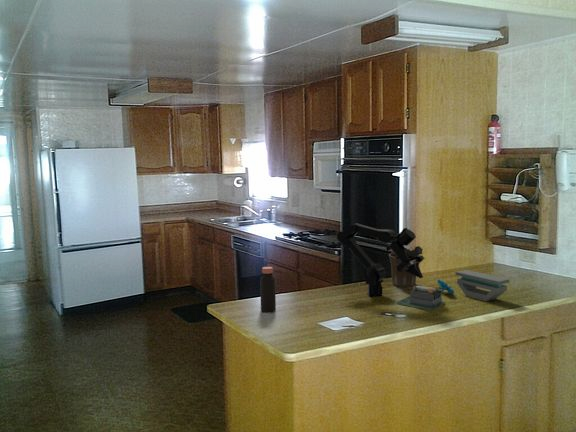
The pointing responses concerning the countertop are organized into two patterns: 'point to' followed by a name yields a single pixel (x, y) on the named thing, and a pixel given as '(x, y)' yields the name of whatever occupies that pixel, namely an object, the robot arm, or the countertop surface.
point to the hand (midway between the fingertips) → (421, 277)
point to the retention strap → (425, 288)
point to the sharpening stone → (481, 285)
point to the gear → (444, 287)
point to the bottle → (267, 290)
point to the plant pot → (401, 274)
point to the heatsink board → (423, 299)
